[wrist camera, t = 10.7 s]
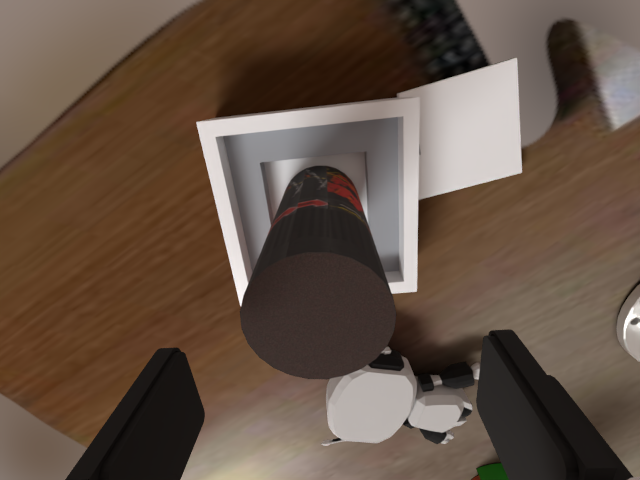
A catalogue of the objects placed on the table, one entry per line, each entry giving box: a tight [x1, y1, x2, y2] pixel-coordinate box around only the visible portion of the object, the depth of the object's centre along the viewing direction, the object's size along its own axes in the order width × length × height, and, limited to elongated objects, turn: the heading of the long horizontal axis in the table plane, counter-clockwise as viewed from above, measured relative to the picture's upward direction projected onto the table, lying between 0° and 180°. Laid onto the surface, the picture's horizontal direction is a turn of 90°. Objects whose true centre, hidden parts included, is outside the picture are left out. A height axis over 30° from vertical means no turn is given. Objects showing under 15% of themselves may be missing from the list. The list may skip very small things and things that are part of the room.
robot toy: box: [321, 347, 480, 446], centre depth 33 cm, size 12×4×15 cm
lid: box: [396, 58, 522, 200], centre depth 25 cm, size 10×8×1 cm
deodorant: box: [240, 166, 396, 379], centre depth 20 cm, size 6×6×15 cm
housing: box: [196, 97, 420, 306], centre depth 25 cm, size 14×14×4 cm
